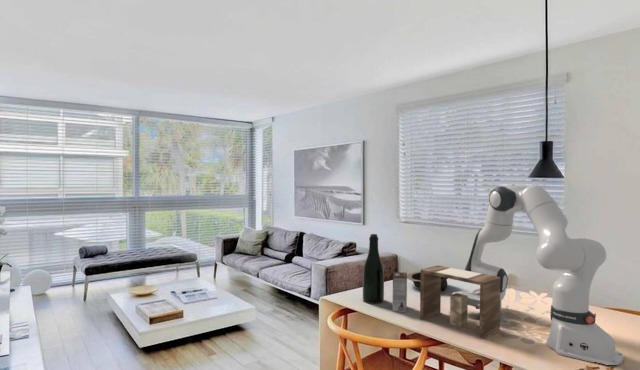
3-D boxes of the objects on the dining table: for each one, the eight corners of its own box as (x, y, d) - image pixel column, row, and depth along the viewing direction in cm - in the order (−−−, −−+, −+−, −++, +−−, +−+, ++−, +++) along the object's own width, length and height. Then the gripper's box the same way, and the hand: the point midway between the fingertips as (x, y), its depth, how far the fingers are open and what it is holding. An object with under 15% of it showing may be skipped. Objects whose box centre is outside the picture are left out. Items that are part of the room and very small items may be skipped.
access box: (499, 329, 158) (500, 276, 158) (483, 338, 149) (484, 282, 149) (437, 311, 179) (437, 264, 179) (420, 318, 170) (420, 269, 170)
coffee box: (392, 305, 189) (393, 271, 188) (406, 306, 187) (406, 272, 187) (392, 311, 180) (392, 276, 179) (406, 312, 178) (407, 277, 178)
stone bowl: (462, 288, 217) (461, 272, 217) (431, 299, 203) (431, 282, 203) (426, 278, 238) (426, 263, 237) (396, 287, 224) (396, 271, 223)
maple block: (467, 324, 164) (467, 295, 164) (461, 327, 161) (461, 297, 161) (456, 321, 168) (456, 292, 168) (449, 323, 165) (450, 295, 164)
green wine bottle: (360, 302, 192) (361, 235, 191) (364, 296, 202) (364, 232, 201) (382, 304, 189) (383, 235, 189) (385, 298, 199) (385, 233, 199)
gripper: (460, 286, 185) (444, 291, 176) (504, 296, 170) (489, 302, 161) (460, 299, 185) (444, 305, 176) (504, 310, 170) (489, 318, 161)
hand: (466, 304), depth 168 cm, fingers open, 8 cm apart
